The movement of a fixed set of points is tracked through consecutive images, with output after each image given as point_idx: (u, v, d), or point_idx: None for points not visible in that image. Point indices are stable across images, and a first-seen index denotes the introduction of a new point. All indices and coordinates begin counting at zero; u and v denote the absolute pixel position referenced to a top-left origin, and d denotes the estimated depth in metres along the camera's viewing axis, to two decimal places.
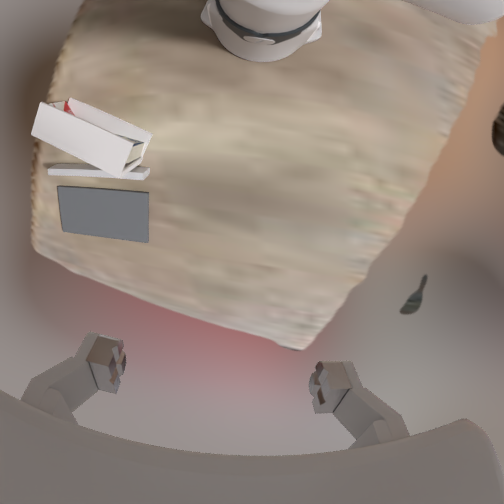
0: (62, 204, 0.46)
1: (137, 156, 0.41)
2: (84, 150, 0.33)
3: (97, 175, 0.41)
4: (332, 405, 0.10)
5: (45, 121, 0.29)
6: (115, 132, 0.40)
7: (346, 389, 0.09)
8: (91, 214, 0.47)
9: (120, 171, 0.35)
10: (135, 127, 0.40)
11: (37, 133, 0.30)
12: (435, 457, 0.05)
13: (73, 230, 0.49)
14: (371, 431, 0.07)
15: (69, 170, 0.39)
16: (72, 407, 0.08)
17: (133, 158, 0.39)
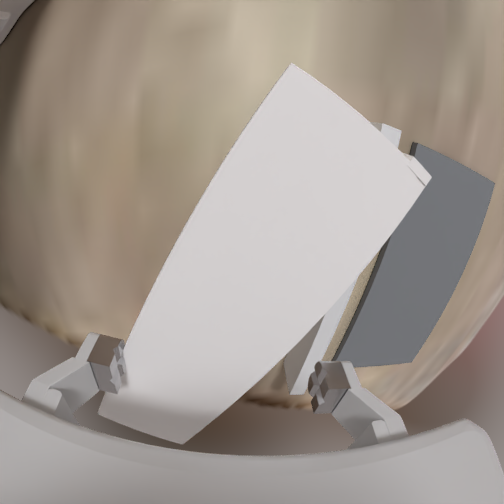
0: (369, 361, 0.24)
1: None
2: (270, 322, 0.09)
3: None
4: (331, 405, 0.10)
5: (147, 416, 0.12)
6: None
7: (345, 389, 0.09)
8: (415, 301, 0.21)
9: (407, 165, 0.07)
10: None
11: (180, 434, 0.13)
12: (435, 457, 0.05)
13: (420, 343, 0.23)
14: (370, 431, 0.07)
15: (313, 351, 0.18)
16: (73, 407, 0.08)
17: None
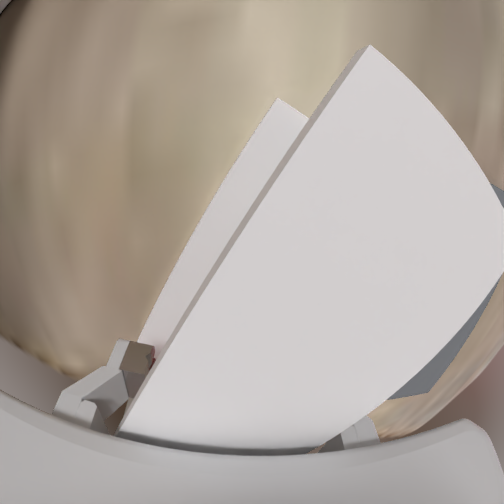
0: None
1: None
2: (301, 428, 0.06)
3: None
4: None
5: None
6: None
7: None
8: None
9: None
10: (241, 163, 0.12)
11: None
12: (435, 457, 0.05)
13: (439, 374, 0.20)
14: (337, 436, 0.07)
15: None
16: (103, 417, 0.08)
17: None
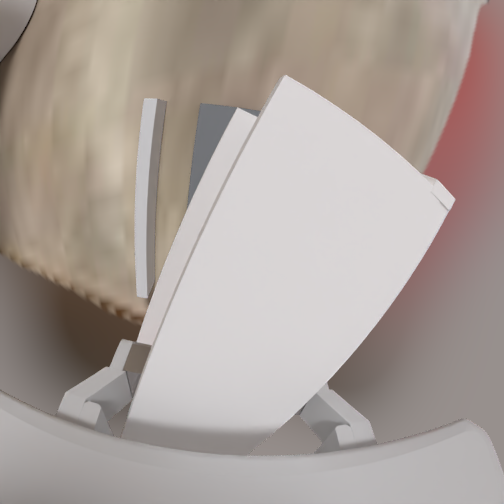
0: None
1: None
2: (284, 382, 0.08)
3: (145, 194, 0.24)
4: None
5: None
6: None
7: None
8: None
9: (430, 191, 0.06)
10: (211, 168, 0.14)
11: None
12: (435, 457, 0.05)
13: None
14: (333, 436, 0.07)
15: (137, 253, 0.26)
16: (107, 418, 0.08)
17: None
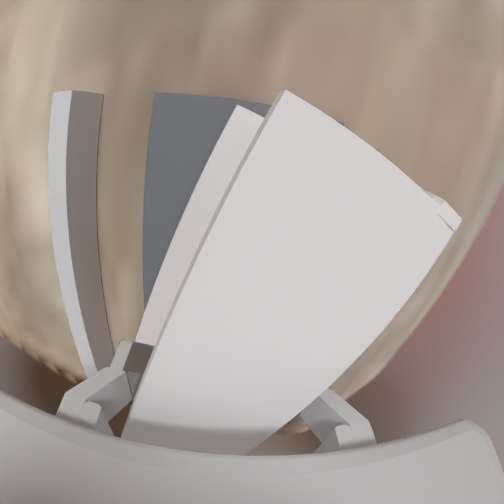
0: None
1: None
2: (280, 394, 0.08)
3: (67, 257, 0.13)
4: None
5: None
6: None
7: None
8: None
9: (437, 212, 0.06)
10: (210, 167, 0.13)
11: None
12: (435, 457, 0.05)
13: None
14: (333, 436, 0.07)
15: (75, 337, 0.15)
16: (107, 418, 0.08)
17: None
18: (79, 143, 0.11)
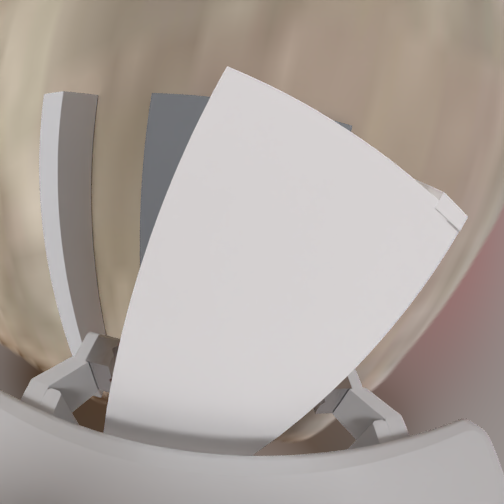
0: None
1: None
2: (256, 412, 0.07)
3: (61, 267, 0.12)
4: (332, 405, 0.10)
5: None
6: None
7: (346, 389, 0.09)
8: None
9: (435, 206, 0.05)
10: None
11: None
12: (434, 457, 0.05)
13: None
14: (371, 431, 0.07)
15: (72, 347, 0.14)
16: (72, 407, 0.08)
17: None
18: (72, 147, 0.11)
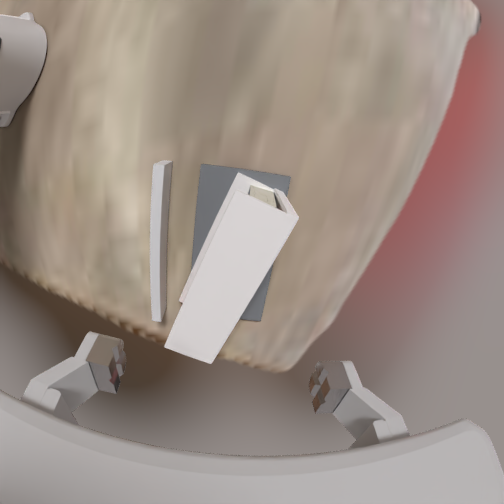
0: None
1: (270, 194, 0.29)
2: (243, 280, 0.25)
3: (158, 242, 0.30)
4: (332, 405, 0.10)
5: (192, 341, 0.28)
6: None
7: (346, 389, 0.09)
8: None
9: (285, 216, 0.22)
10: (226, 200, 0.31)
11: (210, 354, 0.29)
12: (434, 456, 0.05)
13: (259, 304, 0.37)
14: (371, 431, 0.07)
15: (152, 287, 0.32)
16: (72, 407, 0.08)
17: (271, 199, 0.27)
18: (165, 188, 0.29)
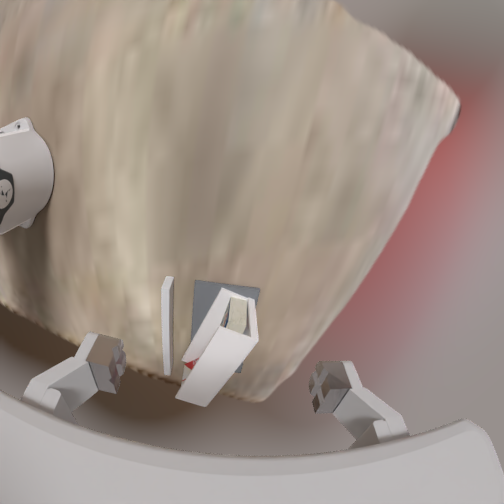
0: None
1: (244, 307, 0.42)
2: (225, 368, 0.38)
3: (167, 332, 0.43)
4: (332, 405, 0.10)
5: (193, 395, 0.41)
6: (218, 323, 0.45)
7: (346, 389, 0.09)
8: None
9: (250, 339, 0.35)
10: (214, 305, 0.43)
11: (205, 402, 0.42)
12: (435, 457, 0.05)
13: None
14: (371, 431, 0.07)
15: (164, 356, 0.45)
16: (72, 407, 0.08)
17: (244, 314, 0.40)
18: (170, 299, 0.41)
